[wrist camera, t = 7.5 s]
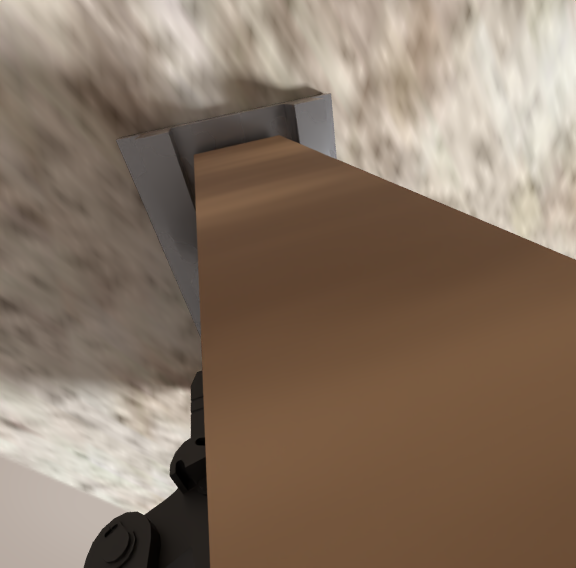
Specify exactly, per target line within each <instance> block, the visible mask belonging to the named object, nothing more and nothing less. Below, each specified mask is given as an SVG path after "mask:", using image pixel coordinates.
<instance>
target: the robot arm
mask: <svg viewBox="0 0 576 568" xmlns="http://www.w3.org/2000/svg"><path fill="white" fill-rule="evenodd" d="M191 413H192V414H191V438H190V439H188V440H187V441H185V442H184V443H183V444H182V445H181V447H180V448H179V449H178V450H177V451H176V453H175V455H174V457H173V459H172V462H171V464H170V477H171V479H172V480H173V481H174V483H175V484H176V485H177V487H178V489H177V490H176V491H175V492H174V493H173V494H172V495H171V496H169V497H168V498H167V499H166V500H164V501H163V502H162V503H160V504H159V505H157V506H156V507H155V508H153V509H152V510H151V511H149V512H148V513H146V514H145V515H143V514H141V513H139V512H127V513H124V514H123V515H121V516H118V517H116V518H114V519H113V520H112V521H111V522H110V523H109V524H108V525H106V526H105V527H104V528H103V529H102V530H101V532H100V533H99V535H98V536H97V537H96V539H95V540H94V542H93V543H92V546H91V548H90V551H89V553H88V555H87V558H86V561H85V565H84V568H210V548H209V523H208V498H207V473H206V448H205V423H204V398H203V373H202V371H199V372H197V374H196V376H195V378H194V381H193V383H192V385H191Z"/></svg>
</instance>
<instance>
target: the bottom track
mask: <svg viewBox="0 0 576 568" xmlns="http://www.w3.org/2000/svg"><path fill="white" fill-rule="evenodd" d="M278 135H280V136H282V137H285V138H287V139H290V140H292V141H294V142H297V143H299V144H301V145H304V146H306V147H309V148H311V149H313V150H316V151H318V152H320V153H323V154H325V155H328V156H330V157H332V158H335V159H337V158H336V146H335V135H334V123H333V111H332V100H331V93H329V94H320V95H316V96H311V97H306V98H302V99H297V100H293V101H288V102H283V103H279V104H274V105H269V106H265V107H260V108H256V109H251V110H246V111H242V112H237V113H232V114H228V115H223V116H219V117H214V118H209V119H205V120H200V121H195V122H191V123H186V124H181V125H177V126H172V127H168V128H163V129H158V130H154V131H149V132H144V133H140V134H135V135H131V136H126V137H121V138H119V139H117V140H116V141H117V143H118V146H119V148H120V150H121V153H122V155H123V157H124V160H125V162H126V164H127V167H128V169H129V171H130V174H131V176H132V178H133V181H134V183H135V185H136V188H137V190H138V192H139V195H140V197H141V199H142V202H143V204H144V206H145V209H146V211H147V213H148V216H149V218H150V220H151V223H152V225H153V227H154V230H155V232H156V234H157V237H158V239H159V241H160V244H161V246H162V248H163V251H164V253H165V255H166V258H167V260H168V262H169V264H170V267H171V269H172V271H173V274H174V276H175V278H176V281H177V283H178V285H179V288H180V290H181V292H182V295H183V297H184V299H185V302H186V304H187V306H188V309H189V311H190V313H191V316H192V318H193V320H194V323H195V325H196V327H197V330H198V332H199V334H200V337H201V323H200V298H199V272H198V247H197V222H196V197H195V172H194V155H195V154H199V153H203V152H208V151H212V150H216V149H221V148H225V147H230V146H234V145H238V144H243V143H247V142H251V141H256V140H260V139H264V138H269V137H273V136H278Z"/></svg>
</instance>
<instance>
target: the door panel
mask: <svg viewBox="0 0 576 568" xmlns="http://www.w3.org/2000/svg"><path fill="white" fill-rule="evenodd" d="M194 172H195V197H196V222H197V247H198V272H199V298H200V323H201V348H202V373H203V398H204V423H205V448H206V473H207V498H208V523H209V548H210V568H576V260H575V259H572V258H570V257H568V256H565V255H563V254H560V253H558V252H556V251H553V250H551V249H548V248H546V247H544V246H541V245H539V244H537V243H534V242H532V241H529V240H527V239H525V238H522V237H520V236H518V235H515V234H513V233H510V232H508V231H506V230H503V229H501V228H499V227H496V226H494V225H491V224H489V223H487V222H484V221H482V220H480V219H477V218H475V217H472V216H470V215H468V214H465V213H463V212H461V211H458V210H456V209H453V208H451V207H449V206H446V205H444V204H442V203H439V202H437V201H434V200H432V199H430V198H427V197H425V196H423V195H420V194H418V193H415V192H413V191H411V190H408V189H406V188H404V187H401V186H399V185H396V184H394V183H392V182H389V181H387V180H385V179H382V178H380V177H377V176H375V175H373V174H370V173H368V172H366V171H363V170H361V169H358V168H356V167H354V166H351V165H349V164H347V163H344V162H342V161H339V160H337V159H335V158H332V157H330V156H328V155H325V154H323V153H320V152H318V151H316V150H313V149H311V148H309V147H306V146H304V145H301V144H299V143H297V142H294V141H292V140H290V139H287V138H285V137H282V136H280V135H278V136H273V137H269V138H264V139H260V140H256V141H251V142H247V143H243V144H238V145H234V146H230V147H225V148H221V149H216V150H212V151H208V152H203V153H199V154H195V155H194Z"/></svg>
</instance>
